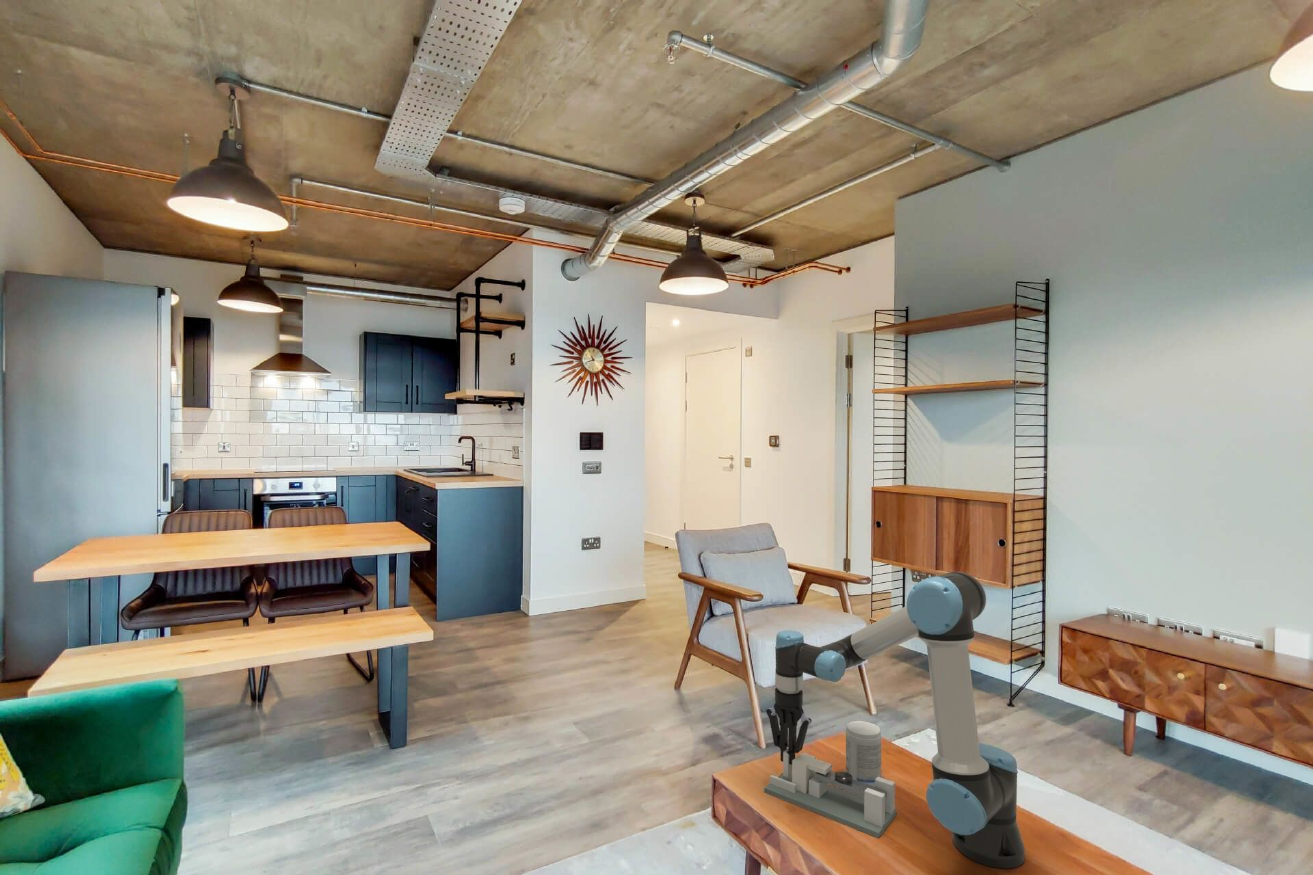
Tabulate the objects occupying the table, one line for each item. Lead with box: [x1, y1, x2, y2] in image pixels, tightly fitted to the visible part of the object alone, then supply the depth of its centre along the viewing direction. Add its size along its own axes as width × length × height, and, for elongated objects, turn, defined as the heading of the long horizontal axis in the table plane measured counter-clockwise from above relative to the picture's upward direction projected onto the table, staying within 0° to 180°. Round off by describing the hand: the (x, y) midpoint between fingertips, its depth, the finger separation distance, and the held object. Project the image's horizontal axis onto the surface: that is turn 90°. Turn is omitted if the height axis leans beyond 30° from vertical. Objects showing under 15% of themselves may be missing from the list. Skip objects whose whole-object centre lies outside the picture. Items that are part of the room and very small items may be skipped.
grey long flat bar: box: [815, 770, 887, 798], centre depth 166 cm, size 18×4×2 cm, turn 51°
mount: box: [763, 772, 898, 839], centre depth 169 cm, size 31×13×8 cm, turn 51°
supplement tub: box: [845, 720, 882, 787], centre depth 181 cm, size 10×10×15 cm
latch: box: [792, 752, 833, 794], centre depth 173 cm, size 9×6×8 cm, turn 51°
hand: (787, 774), depth 177 cm, fingers closed
